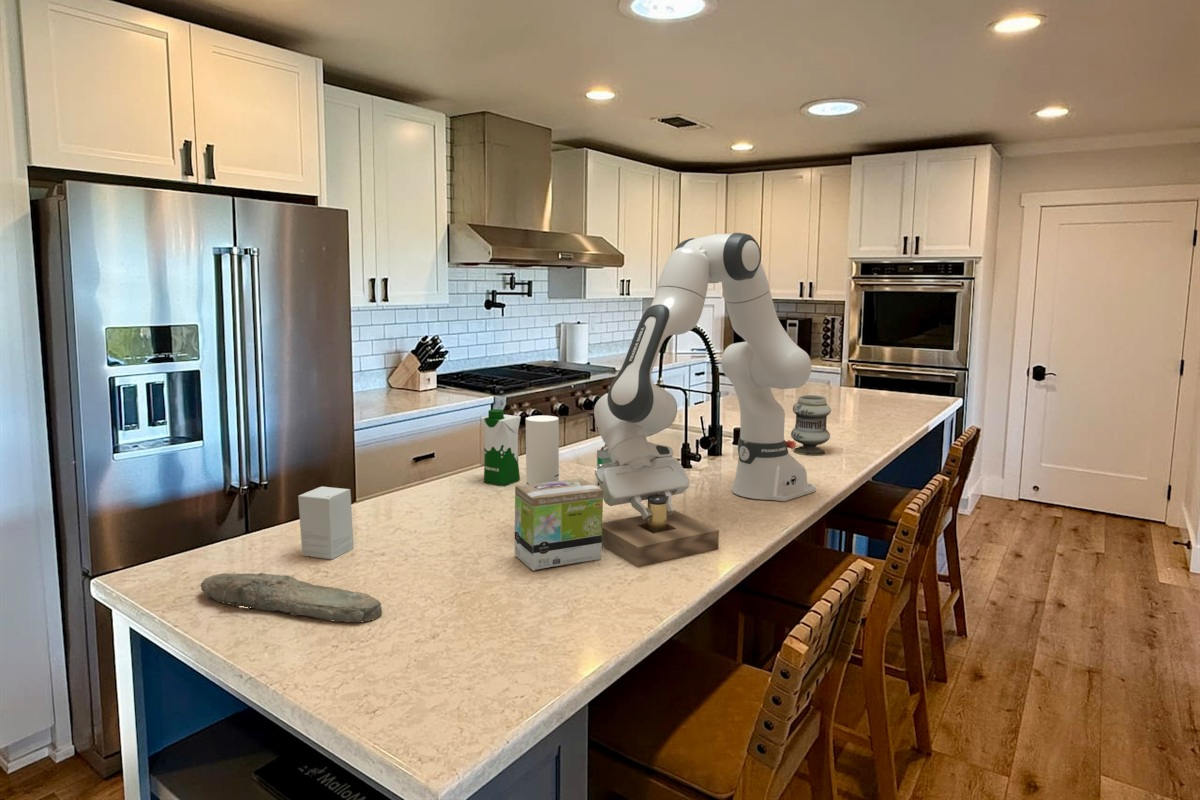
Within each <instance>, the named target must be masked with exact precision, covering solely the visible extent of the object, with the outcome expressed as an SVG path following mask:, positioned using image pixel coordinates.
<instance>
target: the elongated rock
mask: <svg viewBox="0 0 1200 800" xmlns="http://www.w3.org/2000/svg"><path fill="white" fill-rule="evenodd" d="M203 579H204V580H203V581H202V582H201V583H200V589H201V591H202V592H203V593H204V595H205V598H207V599H208V598H210V599H212V600H214V601H217V602H219V601H220V602H219V603H221V602H224V603H230V604H234V605H233V606H235V607H236V606H244V607H248V608H250V607H251V608H255V609H254V610H259V609H260V611H264V610H265V611H268V610H269V611H268V612H270V611H271V612H276V611H280V612H283V613H286V614H287V613H288V614H289V615H291V616H305V617H312V618H315V619H318V618H320V619H319V620H322V619H326V620H325V621H327V620H334V621H340V622H339V623H342V622H341V621H344V622H345V623H347V622H349V623H365V622H364V621H368V622H370V621H369V620H372V619H374V620H376V619H375V618H377V617H378V616H379V617H381V615H382V614H383V612H382V603H381V602H380V601H379V600H378V599H377V598H375V597H373V596H371V595H370V594H367V593H366V592H365V593H364V592H358V591H351V590H348V589H342V588H338V587H337V588H336V587H332V586H324V585H319V584H318V585H316V584H312V583H310V582H307V581H300V580H298V579H297V578H294V577H292V576H290V575H281V574H273V573H272V574H271V573H264V572H259V573H225V572H224V573H219V574H213V575H210V576H208V577H205V578H203ZM230 604H229V605H230ZM379 617H378V618H379ZM378 618H377V619H378ZM361 621H363V622H361ZM372 621H373V620H372ZM344 622H343V623H344Z"/></svg>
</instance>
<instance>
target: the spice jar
mask: <svg viewBox="0 0 1200 800" xmlns="http://www.w3.org/2000/svg"><path fill="white" fill-rule="evenodd" d="M647 508H650V510H651V512H652V516H651V518H649V519H647V531H649V532H651V533H658V532H663V531H666V527H667V497H666V496H664V495H658V494H655V495H649V496H648V500H647Z"/></svg>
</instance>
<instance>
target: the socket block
mask: <svg viewBox="0 0 1200 800" xmlns="http://www.w3.org/2000/svg"><path fill="white" fill-rule="evenodd" d="M673 510H674V511H673V513H672V514H670V515H667V527H666V531H663V532H658V533H651V532H649V531H647V519H643V518H642V516H641V515H638V516H636V515H635V516H632V517H627V518H620V519H616V520H615V519H614V520H611V521H605V522H604V521H602V547H603V546H604V548H605V549H607V550H608V549H609V551H610V550H611V551H610V552H611V553H613V552H614V553H613V554H615V555H617V556H618V555H619V557H621V558H622V559H623V558H624V560H625V559H626V560H625V561H627V562H629V563H630V562H631V563H630V564H632V563H633V564H632V565H634V566H635V565H636V566H635V567H637V566H639V567H643V565H644V566H648V565H652V564H651V563H653V564H656V563H655V562H657V563H660V562H659V561H662V562H666V561H669V559H670V560H673V558H675V559H678V557H679V558H683V556H684V557H688V556H693V555H696V554H700V553H701V554H702V553H704V552H710V551H714V550H718V549H719V542H720V541H719V540H720V530H719V529H717V528H716V527H713V526H710V525H709V524H706V523H704V522H702V521H699V520H697V519H694V518H693V517H690V516H688V515H686V514H683V513H681V512H680V511H677V510H675V509H673ZM692 554H693V555H692ZM665 560H666V561H665ZM647 564H648V565H647Z"/></svg>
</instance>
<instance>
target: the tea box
mask: <svg viewBox="0 0 1200 800" xmlns="http://www.w3.org/2000/svg"><path fill="white" fill-rule="evenodd" d="M603 503H604V499H603V490H602V489H600V487H599V486H598V485H597V486H596V485H595V484H593V483H591V482H589V481H588V480H586V479H584V478H582V477H581V478H571V479H564V480H562V479H561V480H559V481H553V482H544V483H535V484H527V485H526V484H518V485H515V489H514V555H515V556H516V557H517V558H518V559H519V560H520V561H521V562H522V563H523V564H524V565H525V566H527V568H528V569H530V570H532V572H534V571H537V570H542V569H548V568H551V567H552V568H553V567H559V566H567V565H572V564H577V563H578V564H579V563H586V562H592V561H593V560H594V561H599V560H598V559H600V560H601V559H602V548H603V546H602V523H603V511H604V508H603V506H604V505H603Z"/></svg>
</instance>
